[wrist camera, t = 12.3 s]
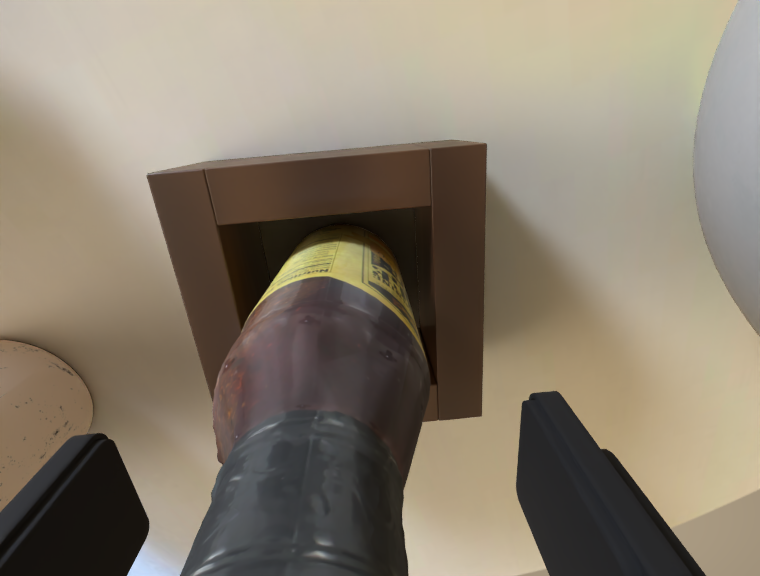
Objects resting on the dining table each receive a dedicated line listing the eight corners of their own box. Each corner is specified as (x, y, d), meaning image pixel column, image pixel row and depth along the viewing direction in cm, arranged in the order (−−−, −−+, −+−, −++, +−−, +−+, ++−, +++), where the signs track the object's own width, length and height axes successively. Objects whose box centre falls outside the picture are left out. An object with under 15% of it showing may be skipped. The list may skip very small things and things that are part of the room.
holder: (452, 139, 21) (487, 143, 15) (455, 354, 26) (482, 416, 20) (203, 161, 20) (144, 173, 15) (253, 373, 25) (223, 442, 20)
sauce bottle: (401, 313, 24) (533, 894, 6) (299, 324, 24) (107, 944, 6) (392, 206, 22) (573, 622, 3) (279, 217, 22) (-168, 706, 3)
